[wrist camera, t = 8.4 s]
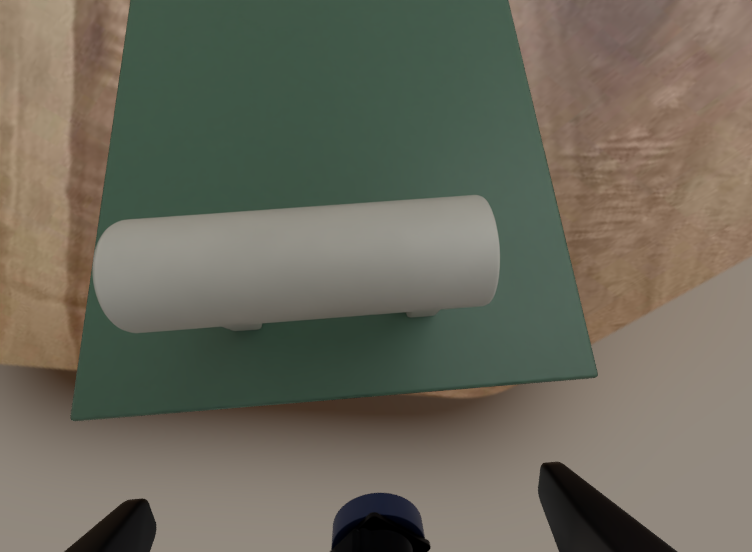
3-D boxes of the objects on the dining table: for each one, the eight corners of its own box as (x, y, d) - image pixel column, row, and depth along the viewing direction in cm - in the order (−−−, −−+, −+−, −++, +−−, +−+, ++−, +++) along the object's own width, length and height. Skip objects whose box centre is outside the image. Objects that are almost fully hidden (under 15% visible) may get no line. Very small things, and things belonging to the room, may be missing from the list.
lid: (583, 377, 9) (824, 372, 4) (91, 418, 8) (-260, 464, 4) (496, -2, 12) (573, -244, 7) (143, 18, 12) (-9, -220, 7)
